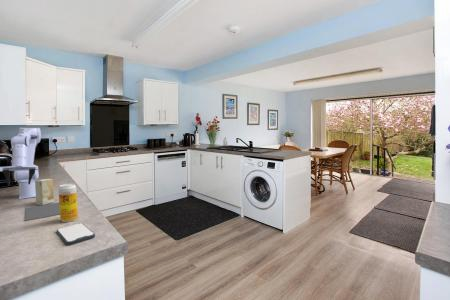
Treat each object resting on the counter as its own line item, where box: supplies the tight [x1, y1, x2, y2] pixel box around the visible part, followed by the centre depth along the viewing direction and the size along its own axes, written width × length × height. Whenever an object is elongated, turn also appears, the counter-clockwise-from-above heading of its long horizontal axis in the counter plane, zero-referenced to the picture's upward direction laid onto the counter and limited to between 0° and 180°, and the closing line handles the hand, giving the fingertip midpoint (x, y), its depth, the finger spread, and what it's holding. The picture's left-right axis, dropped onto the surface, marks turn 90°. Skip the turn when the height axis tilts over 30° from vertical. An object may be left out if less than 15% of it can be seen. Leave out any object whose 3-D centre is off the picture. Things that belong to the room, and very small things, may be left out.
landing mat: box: [24, 202, 60, 222], centre depth 109 cm, size 20×15×1 cm
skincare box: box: [35, 178, 55, 206], centre depth 118 cm, size 6×4×12 cm
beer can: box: [58, 183, 79, 223], centre depth 97 cm, size 6×6×15 cm
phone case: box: [56, 222, 96, 246], centre depth 84 cm, size 9×2×16 cm
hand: (19, 184), depth 116 cm, fingers open, 7 cm apart
